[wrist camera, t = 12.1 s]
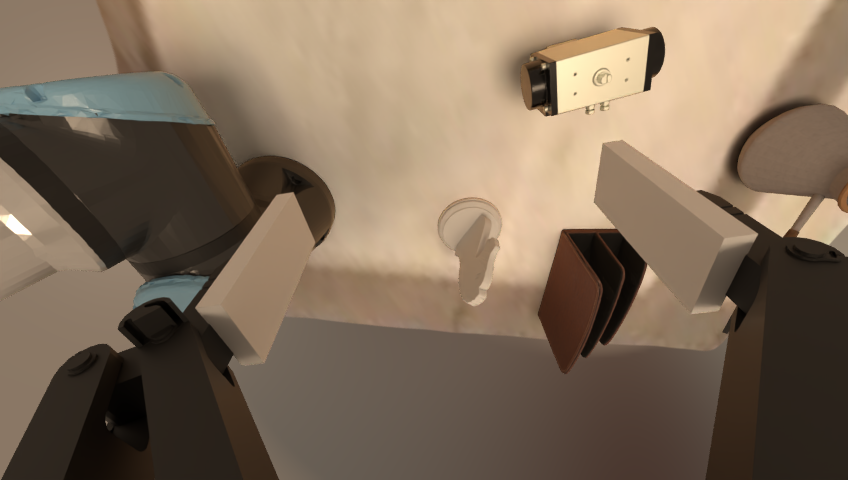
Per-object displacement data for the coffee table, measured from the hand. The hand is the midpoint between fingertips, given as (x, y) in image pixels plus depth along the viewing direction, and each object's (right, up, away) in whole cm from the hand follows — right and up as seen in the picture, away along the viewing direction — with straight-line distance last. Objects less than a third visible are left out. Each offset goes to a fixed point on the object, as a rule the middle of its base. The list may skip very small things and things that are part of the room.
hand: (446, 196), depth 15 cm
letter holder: (+26, -8, +44) cm, 52 cm away
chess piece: (+6, 0, +38) cm, 38 cm away
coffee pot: (+43, +8, +33) cm, 55 cm away
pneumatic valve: (+15, +19, +25) cm, 34 cm away
